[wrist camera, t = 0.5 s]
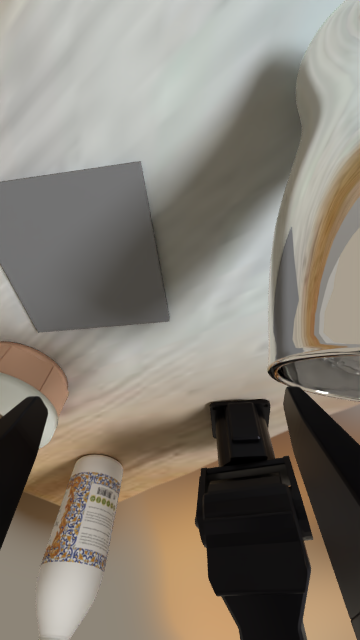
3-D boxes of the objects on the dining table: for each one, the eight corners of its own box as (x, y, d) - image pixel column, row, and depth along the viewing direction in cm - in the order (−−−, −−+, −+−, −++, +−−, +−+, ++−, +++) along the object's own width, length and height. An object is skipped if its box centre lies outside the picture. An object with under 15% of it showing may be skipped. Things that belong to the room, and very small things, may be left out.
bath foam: (81, 448, 37) (-4, 700, 21) (130, 459, 39) (86, 704, 22) (72, 470, 41) (-6, 698, 25) (116, 480, 42) (70, 701, 26)
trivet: (169, 318, 24) (169, 321, 23) (40, 329, 25) (38, 332, 25) (140, 161, 17) (139, 162, 16) (-36, 187, 18) (-41, 188, 18)
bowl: (80, 404, 31) (68, 436, 28) (0, 408, 32) (-21, 440, 29) (45, 337, 26) (24, 368, 22) (-52, 345, 27) (-85, 376, 23)
